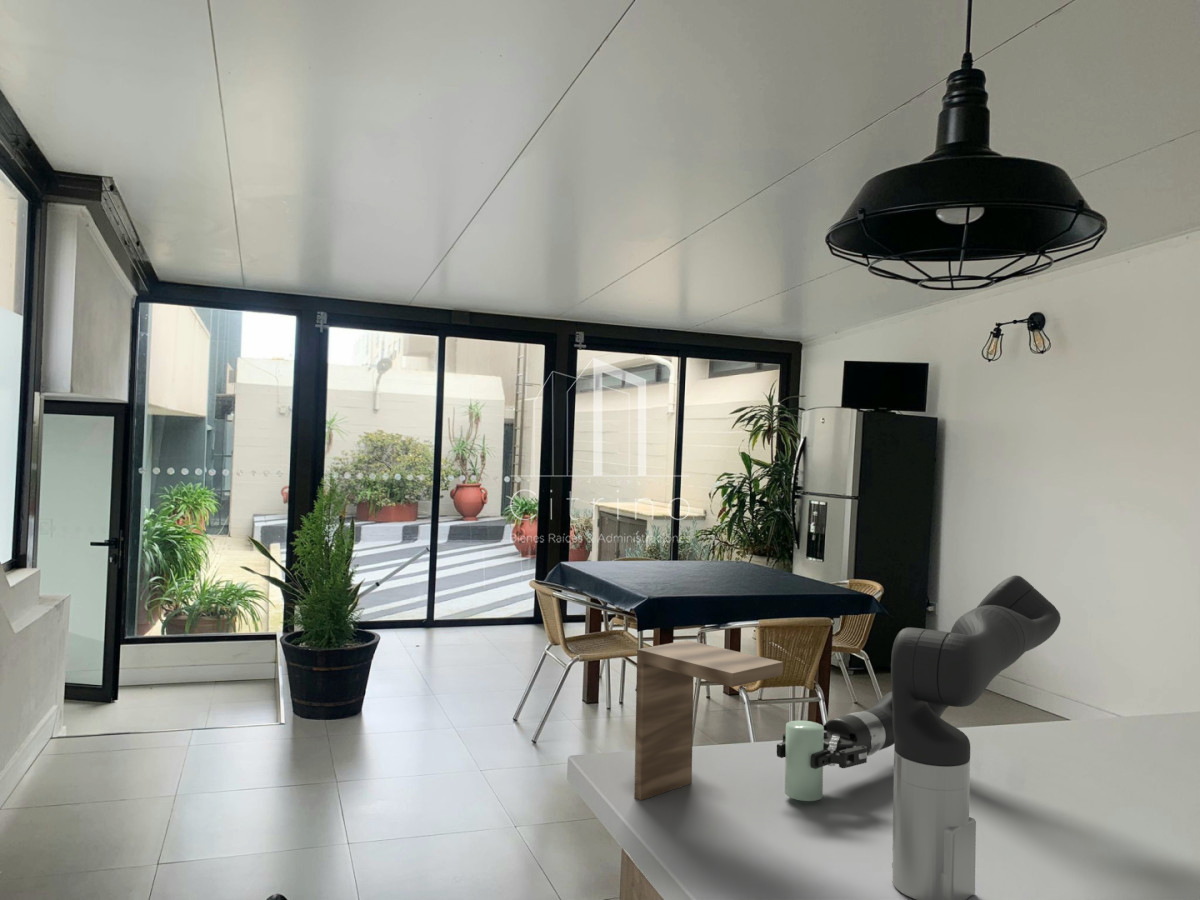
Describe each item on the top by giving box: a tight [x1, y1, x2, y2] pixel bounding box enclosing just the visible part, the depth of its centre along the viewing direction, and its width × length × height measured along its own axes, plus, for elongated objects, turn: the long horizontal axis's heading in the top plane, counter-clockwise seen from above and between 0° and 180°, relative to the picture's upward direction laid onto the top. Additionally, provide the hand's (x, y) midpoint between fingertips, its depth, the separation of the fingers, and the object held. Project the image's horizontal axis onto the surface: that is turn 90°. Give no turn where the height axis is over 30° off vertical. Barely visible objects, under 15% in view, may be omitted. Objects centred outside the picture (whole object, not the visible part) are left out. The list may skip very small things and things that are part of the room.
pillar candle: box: [784, 720, 824, 802], centre depth 142 cm, size 6×6×11 cm
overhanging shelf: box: [633, 639, 784, 801], centre depth 139 cm, size 20×12×24 cm, turn 41°
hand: (795, 756), depth 141 cm, fingers closed on pillar candle, 6 cm apart
